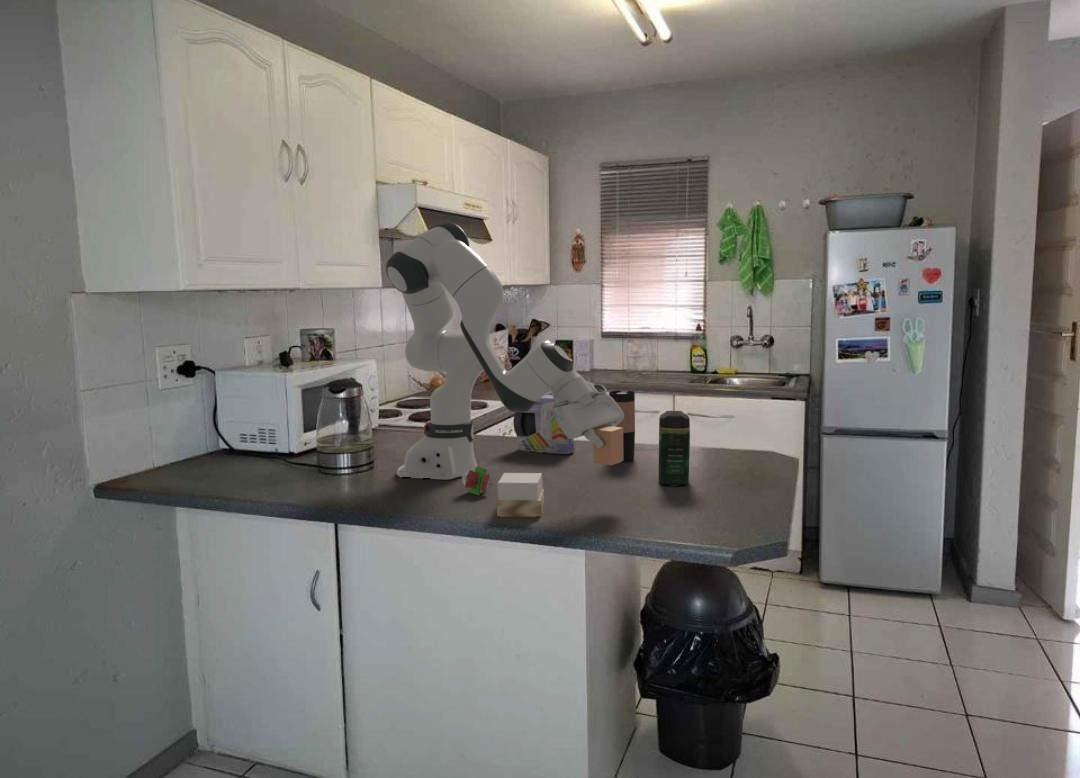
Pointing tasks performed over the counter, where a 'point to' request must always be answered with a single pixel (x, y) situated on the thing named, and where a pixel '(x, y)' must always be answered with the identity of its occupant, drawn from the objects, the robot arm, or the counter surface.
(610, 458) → the pillar
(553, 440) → the cake pan box
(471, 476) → the geometric puzzle
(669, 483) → the coffee jar
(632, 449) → the travel mug
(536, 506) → the tower base
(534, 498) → the tower top
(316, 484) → the counter surface
